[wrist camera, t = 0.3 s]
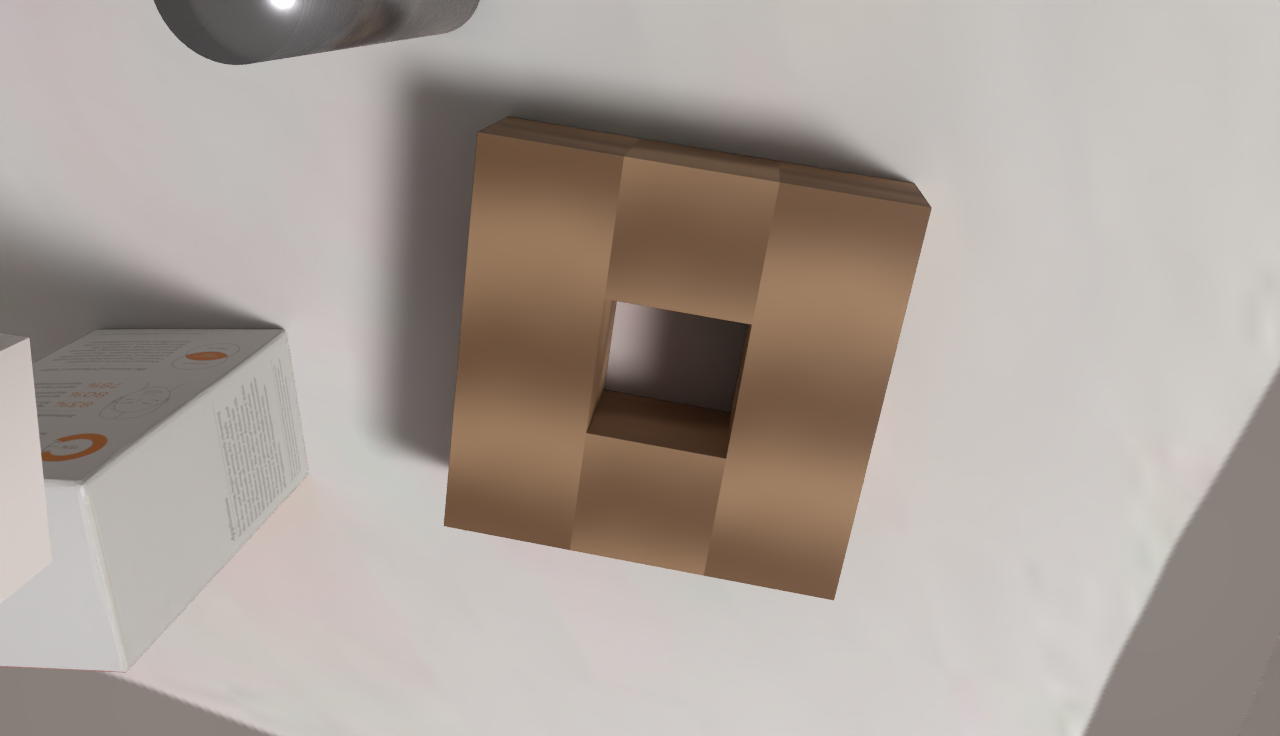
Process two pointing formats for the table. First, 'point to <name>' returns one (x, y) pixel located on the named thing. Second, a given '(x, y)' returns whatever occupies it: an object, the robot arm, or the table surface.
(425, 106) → the table surface
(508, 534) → the hole block
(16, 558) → the robot arm
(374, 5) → the long pin
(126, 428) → the small box
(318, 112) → the table surface
